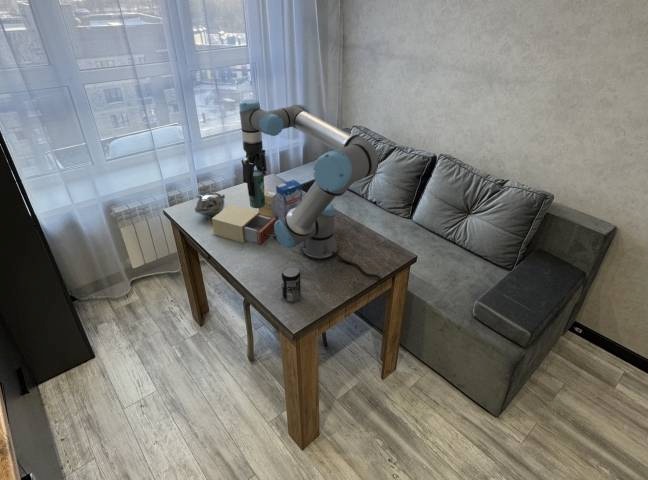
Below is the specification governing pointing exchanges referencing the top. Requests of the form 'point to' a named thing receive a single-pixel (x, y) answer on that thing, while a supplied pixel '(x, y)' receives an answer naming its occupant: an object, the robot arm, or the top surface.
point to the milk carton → (288, 197)
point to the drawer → (259, 229)
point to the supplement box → (269, 205)
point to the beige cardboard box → (233, 222)
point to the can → (258, 190)
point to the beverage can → (291, 283)
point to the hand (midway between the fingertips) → (256, 192)
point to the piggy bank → (210, 204)
